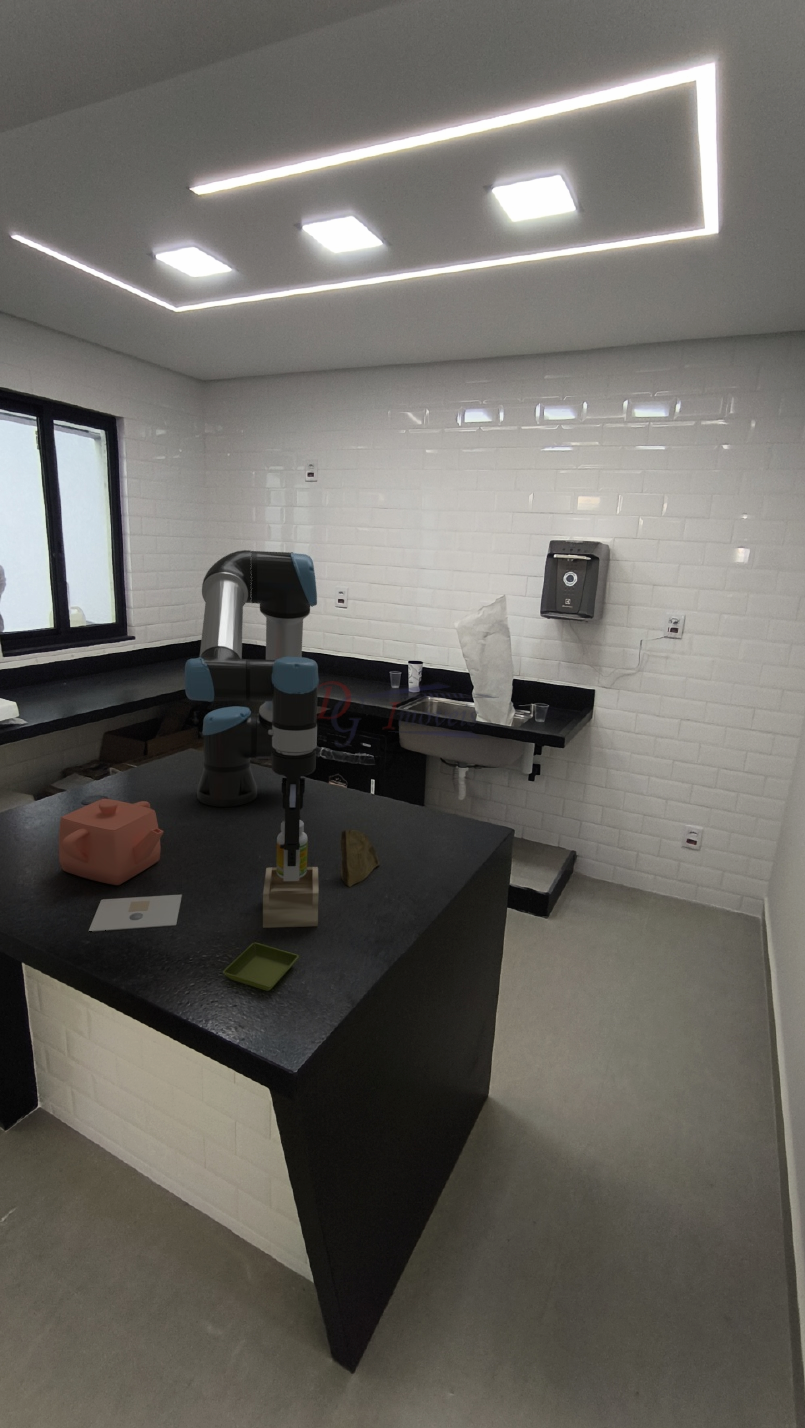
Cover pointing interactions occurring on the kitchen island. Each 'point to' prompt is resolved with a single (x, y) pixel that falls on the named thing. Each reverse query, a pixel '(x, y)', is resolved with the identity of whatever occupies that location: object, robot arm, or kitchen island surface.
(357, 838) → the rock
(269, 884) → the wooden crate
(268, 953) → the green tray
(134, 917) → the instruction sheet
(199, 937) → the kitchen island surface
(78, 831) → the teapot
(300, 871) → the supplement bottle
